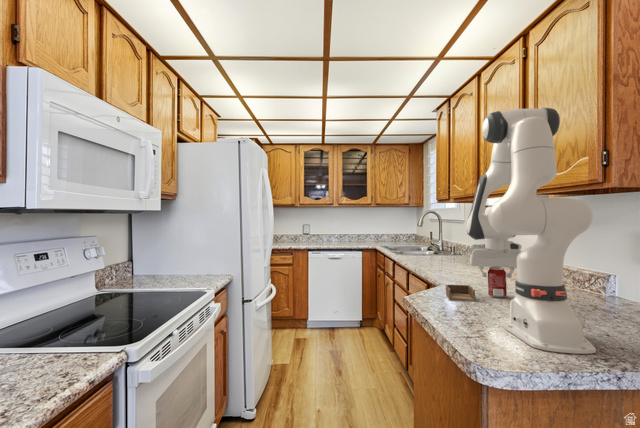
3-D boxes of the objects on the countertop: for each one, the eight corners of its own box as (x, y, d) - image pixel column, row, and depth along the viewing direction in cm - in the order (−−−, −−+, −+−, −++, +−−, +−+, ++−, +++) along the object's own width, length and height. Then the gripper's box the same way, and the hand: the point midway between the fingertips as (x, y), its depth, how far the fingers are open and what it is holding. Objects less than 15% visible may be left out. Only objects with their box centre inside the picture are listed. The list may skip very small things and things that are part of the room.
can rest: (475, 301, 124) (474, 290, 124) (449, 300, 126) (448, 289, 126) (469, 295, 133) (469, 285, 133) (445, 294, 136) (445, 284, 136)
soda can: (505, 299, 126) (504, 269, 126) (486, 297, 130) (486, 268, 130) (507, 295, 131) (506, 267, 132) (489, 293, 136) (488, 266, 136)
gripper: (470, 245, 131) (471, 278, 131) (525, 245, 126) (526, 279, 126) (467, 243, 137) (468, 275, 137) (519, 243, 132) (520, 276, 132)
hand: (496, 277), depth 131 cm, fingers open, 8 cm apart
